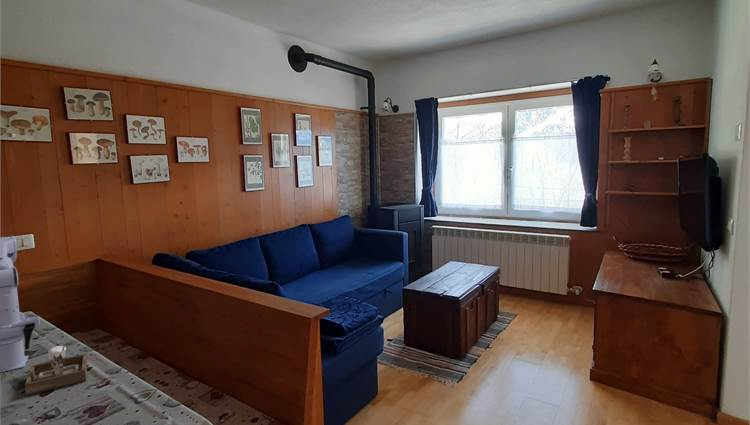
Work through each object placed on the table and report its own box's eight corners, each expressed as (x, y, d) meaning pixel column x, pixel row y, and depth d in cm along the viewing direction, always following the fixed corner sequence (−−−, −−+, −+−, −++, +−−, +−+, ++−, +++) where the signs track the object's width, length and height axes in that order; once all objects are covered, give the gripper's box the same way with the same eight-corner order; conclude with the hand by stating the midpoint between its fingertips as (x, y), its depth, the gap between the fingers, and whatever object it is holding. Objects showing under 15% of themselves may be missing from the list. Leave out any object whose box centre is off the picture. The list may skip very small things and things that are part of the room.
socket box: (32, 376, 124) (31, 365, 124) (87, 363, 132) (86, 353, 132) (25, 396, 113) (24, 384, 112) (85, 381, 121) (85, 370, 120)
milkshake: (59, 379, 121) (56, 348, 120) (46, 377, 122) (43, 346, 121) (74, 372, 125) (71, 342, 124) (61, 370, 126) (58, 340, 125)
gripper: (-32, 317, 110) (-27, 363, 111) (35, 307, 118) (40, 350, 119) (-26, 310, 115) (-21, 354, 117) (38, 301, 124) (42, 342, 125)
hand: (10, 351), depth 118 cm, fingers open, 7 cm apart
